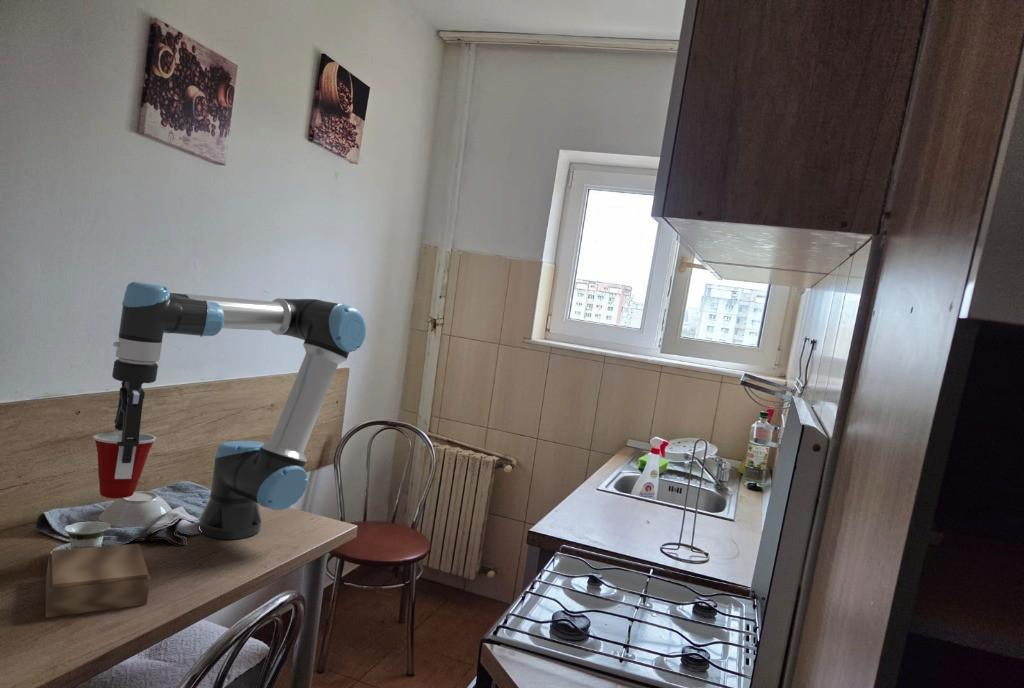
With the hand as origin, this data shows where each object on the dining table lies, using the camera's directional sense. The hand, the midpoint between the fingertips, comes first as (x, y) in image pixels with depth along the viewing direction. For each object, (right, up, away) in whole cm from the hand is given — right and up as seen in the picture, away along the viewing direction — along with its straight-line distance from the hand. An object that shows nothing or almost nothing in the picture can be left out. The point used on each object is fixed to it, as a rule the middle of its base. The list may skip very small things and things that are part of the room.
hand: (120, 469), depth 125 cm
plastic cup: (-1, -5, 0) cm, 5 cm away
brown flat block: (-5, -24, 0) cm, 25 cm away
